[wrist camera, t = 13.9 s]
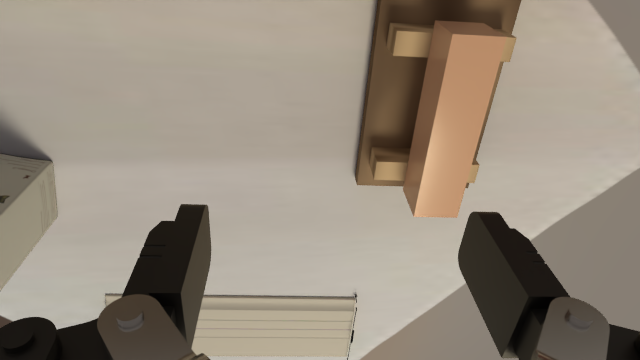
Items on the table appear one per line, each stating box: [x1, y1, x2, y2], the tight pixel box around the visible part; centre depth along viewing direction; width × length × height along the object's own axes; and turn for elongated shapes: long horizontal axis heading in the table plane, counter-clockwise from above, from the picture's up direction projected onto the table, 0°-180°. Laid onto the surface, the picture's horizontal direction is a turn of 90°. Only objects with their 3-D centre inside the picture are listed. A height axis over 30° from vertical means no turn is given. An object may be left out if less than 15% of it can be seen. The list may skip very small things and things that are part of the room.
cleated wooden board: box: [355, 0, 521, 188], centre depth 42 cm, size 12×19×4 cm, turn 176°
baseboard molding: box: [105, 294, 357, 360], centre depth 58 cm, size 31×3×12 cm
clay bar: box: [403, 20, 507, 218], centre depth 38 cm, size 16×4×4 cm, turn 176°
